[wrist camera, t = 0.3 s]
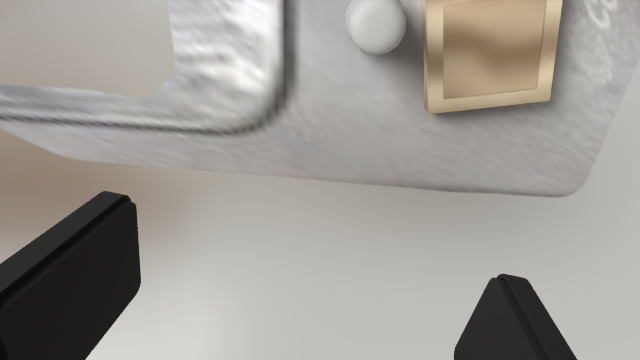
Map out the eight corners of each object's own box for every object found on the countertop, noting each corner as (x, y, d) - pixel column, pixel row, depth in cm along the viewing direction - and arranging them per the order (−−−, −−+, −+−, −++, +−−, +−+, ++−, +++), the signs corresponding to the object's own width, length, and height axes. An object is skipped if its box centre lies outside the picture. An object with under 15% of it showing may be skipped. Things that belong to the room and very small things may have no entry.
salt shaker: (410, -2, 36) (432, -5, 25) (390, 55, 39) (402, 76, 27) (355, -19, 36) (351, -29, 25) (339, 39, 39) (329, 55, 27)
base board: (421, -10, 36) (426, -11, 33) (550, -31, 34) (567, -34, 31) (424, 107, 41) (429, 114, 38) (536, 94, 39) (550, 101, 36)
